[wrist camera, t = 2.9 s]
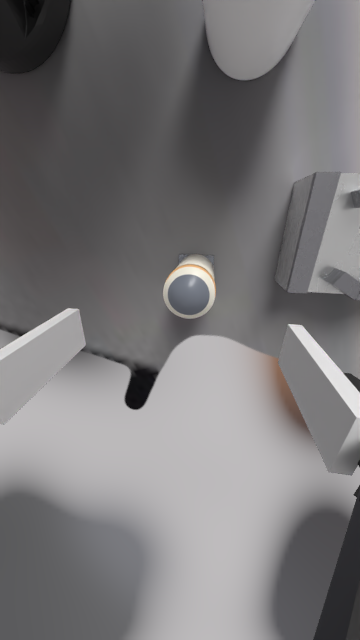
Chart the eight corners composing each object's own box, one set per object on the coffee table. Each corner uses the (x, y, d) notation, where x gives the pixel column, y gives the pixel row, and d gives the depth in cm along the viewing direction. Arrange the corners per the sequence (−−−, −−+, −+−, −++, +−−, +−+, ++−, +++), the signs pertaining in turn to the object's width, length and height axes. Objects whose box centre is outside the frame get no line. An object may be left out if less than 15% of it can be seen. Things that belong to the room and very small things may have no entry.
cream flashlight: (177, 289, 31) (162, 318, 22) (177, 251, 29) (160, 266, 19) (213, 291, 30) (213, 322, 21) (216, 253, 28) (218, 269, 19)
